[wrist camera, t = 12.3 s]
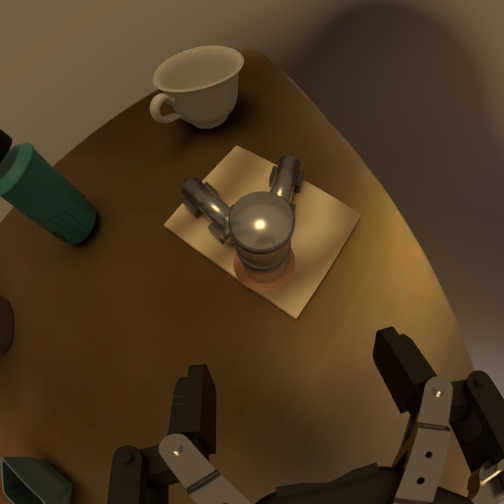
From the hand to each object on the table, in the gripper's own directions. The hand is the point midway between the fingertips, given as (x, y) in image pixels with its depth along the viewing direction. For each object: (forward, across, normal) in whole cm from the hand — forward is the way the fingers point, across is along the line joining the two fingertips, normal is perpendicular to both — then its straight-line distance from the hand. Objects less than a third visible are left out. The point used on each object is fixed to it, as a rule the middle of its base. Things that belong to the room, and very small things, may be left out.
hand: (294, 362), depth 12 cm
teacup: (+34, +5, -12) cm, 37 cm away
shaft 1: (+21, +4, -1) cm, 22 cm away
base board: (+21, -1, +1) cm, 21 cm away
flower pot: (-2, +34, +24) cm, 42 cm away
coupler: (+17, 0, +3) cm, 17 cm away
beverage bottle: (+24, +23, -2) cm, 34 cm away
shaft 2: (+22, -3, -1) cm, 22 cm away
